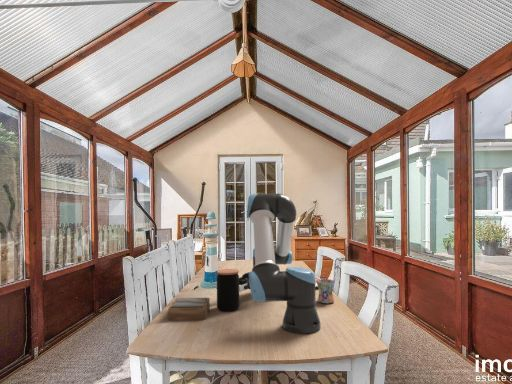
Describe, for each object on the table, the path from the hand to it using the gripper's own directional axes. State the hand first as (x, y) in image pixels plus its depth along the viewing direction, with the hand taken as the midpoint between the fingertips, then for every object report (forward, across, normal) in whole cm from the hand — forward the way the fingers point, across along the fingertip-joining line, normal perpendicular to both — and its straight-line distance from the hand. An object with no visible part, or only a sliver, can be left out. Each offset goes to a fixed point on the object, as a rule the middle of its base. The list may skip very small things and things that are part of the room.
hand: (227, 287), depth 158 cm
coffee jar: (0, 0, -10) cm, 10 cm away
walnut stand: (+15, +10, -10) cm, 21 cm away
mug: (-34, -37, -10) cm, 51 cm away
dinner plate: (-60, -13, -10) cm, 62 cm away
